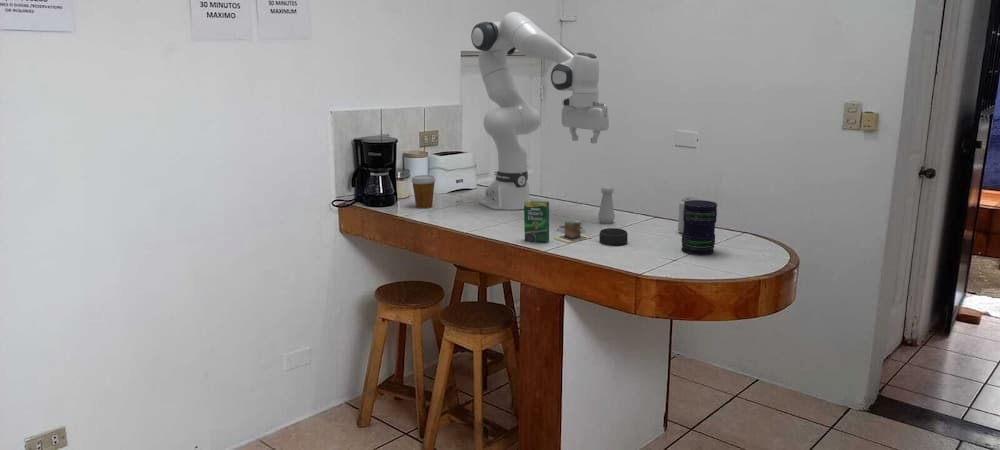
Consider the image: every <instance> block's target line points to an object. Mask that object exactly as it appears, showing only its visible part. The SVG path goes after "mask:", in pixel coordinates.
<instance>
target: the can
mask: <svg viewBox="0 0 1000 450" xmlns="http://www.w3.org/2000/svg"><path fill="white" fill-rule="evenodd" d="M690 200H702V198H699V197H696V196H683V197H681V200H680V201H679V204H678V206H679V207H678V208H679V209H678V222H677V223H678V225H677V231H678V232H679V233H680V234H681V235H682V233H683V228H684V221H683V211H684V202H685V201H690Z"/></svg>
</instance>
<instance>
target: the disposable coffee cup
mask: <svg viewBox="0 0 1000 450" xmlns="http://www.w3.org/2000/svg"><path fill="white" fill-rule="evenodd" d="M410 181H411V183H412V188H413V195H414V201H415V206H416V207H415V208H417V209H431V208H433V201H434V192H435V190H434V189H435V183H436V177H435V176H433V175H430V174H429V175H428V174H425V175H424V174H422V175H421V174H420V175H413V176H412V178H411V180H410Z"/></svg>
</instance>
